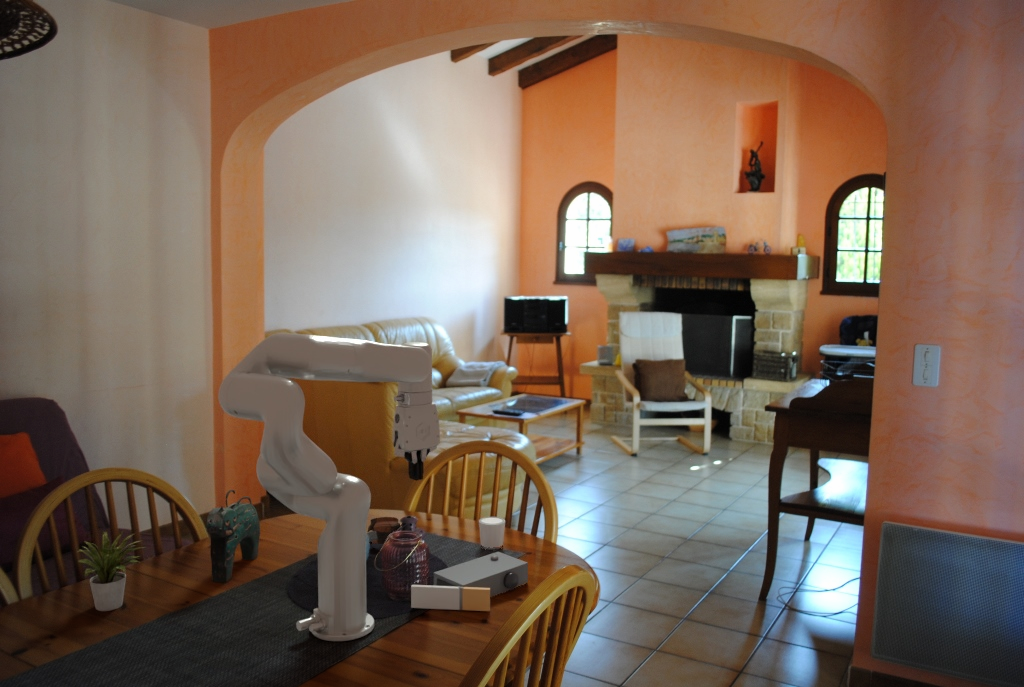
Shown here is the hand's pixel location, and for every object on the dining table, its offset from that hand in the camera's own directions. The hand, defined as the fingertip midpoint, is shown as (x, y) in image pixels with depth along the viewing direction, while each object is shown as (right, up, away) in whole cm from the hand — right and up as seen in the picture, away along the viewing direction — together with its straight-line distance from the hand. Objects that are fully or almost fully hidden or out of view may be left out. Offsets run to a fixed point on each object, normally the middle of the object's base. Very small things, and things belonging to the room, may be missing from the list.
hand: (416, 478), depth 191 cm
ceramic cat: (-45, -24, +12) cm, 52 cm away
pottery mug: (-11, -22, +31) cm, 40 cm away
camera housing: (+15, -25, +2) cm, 29 cm away
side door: (+8, -26, -9) cm, 29 cm away
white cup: (+16, -23, +30) cm, 41 cm away
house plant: (-64, -26, -10) cm, 70 cm away
